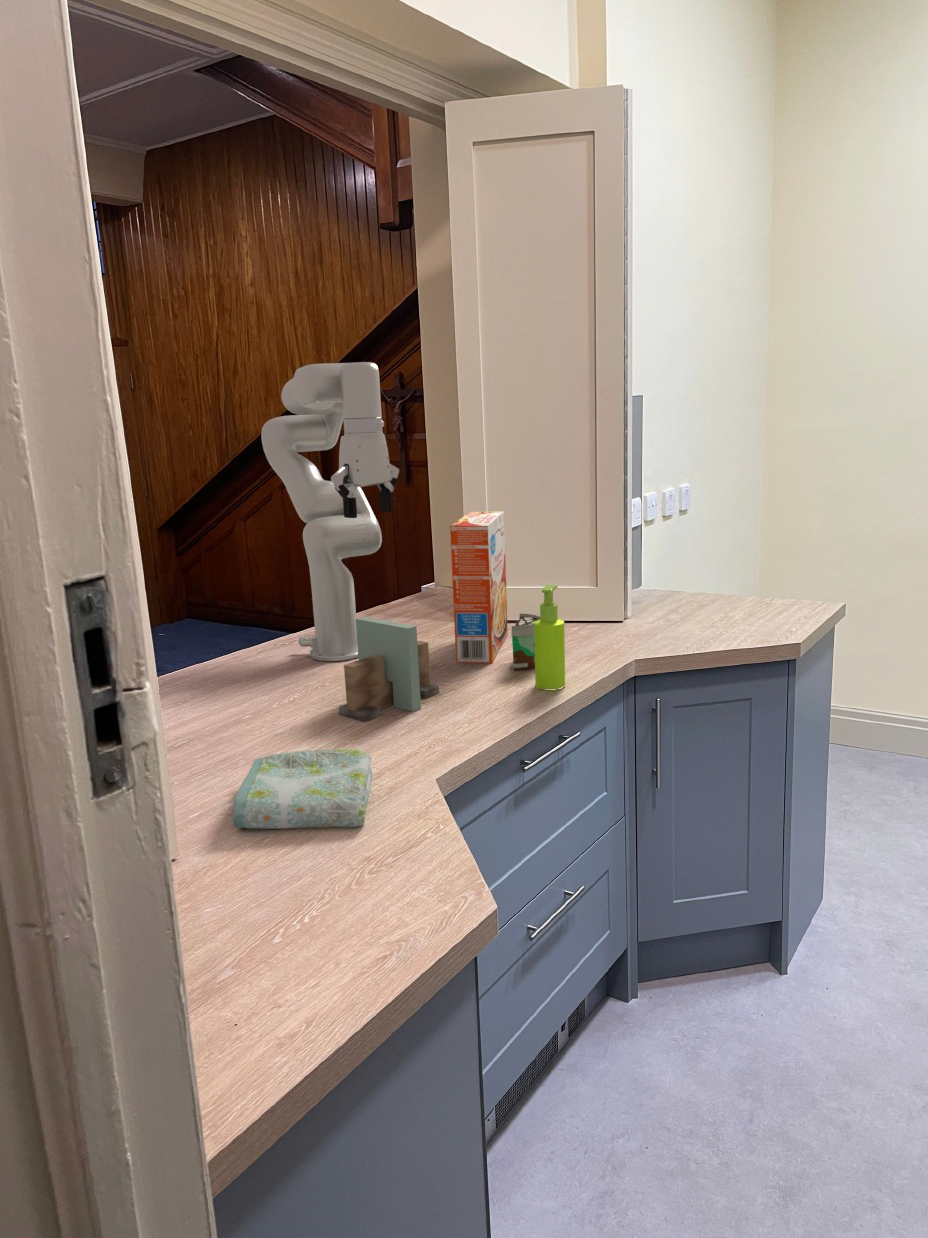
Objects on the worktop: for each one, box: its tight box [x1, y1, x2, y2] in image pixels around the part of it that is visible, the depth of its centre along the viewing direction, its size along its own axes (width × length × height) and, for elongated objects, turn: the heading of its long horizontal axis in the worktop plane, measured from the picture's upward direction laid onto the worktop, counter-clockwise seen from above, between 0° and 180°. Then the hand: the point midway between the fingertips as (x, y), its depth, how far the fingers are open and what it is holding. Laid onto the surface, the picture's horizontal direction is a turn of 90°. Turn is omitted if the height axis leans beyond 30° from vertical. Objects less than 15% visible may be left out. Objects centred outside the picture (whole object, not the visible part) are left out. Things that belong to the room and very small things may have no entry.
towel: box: [232, 748, 373, 830], centre depth 138 cm, size 18×21×5 cm
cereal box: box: [449, 511, 509, 664], centre depth 212 cm, size 23×8×30 cm, turn 169°
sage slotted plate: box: [356, 616, 422, 713], centre depth 179 cm, size 2×14×16 cm, turn 49°
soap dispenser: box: [534, 584, 566, 690], centre depth 185 cm, size 6×7×20 cm
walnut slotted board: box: [338, 640, 440, 723], centre depth 179 cm, size 20×7×10 cm, turn 139°
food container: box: [511, 612, 540, 672], centre depth 201 cm, size 12×6×10 cm, turn 168°
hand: (368, 514), depth 189 cm, fingers open, 9 cm apart
